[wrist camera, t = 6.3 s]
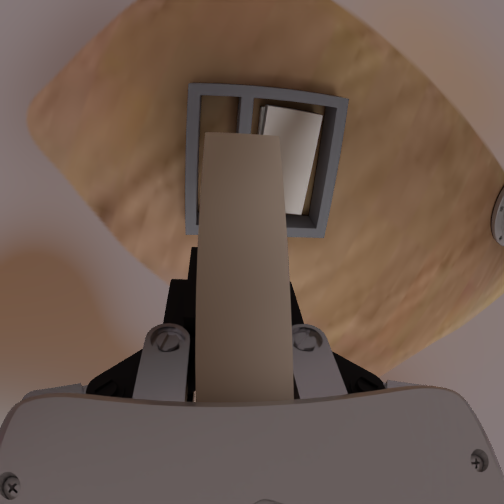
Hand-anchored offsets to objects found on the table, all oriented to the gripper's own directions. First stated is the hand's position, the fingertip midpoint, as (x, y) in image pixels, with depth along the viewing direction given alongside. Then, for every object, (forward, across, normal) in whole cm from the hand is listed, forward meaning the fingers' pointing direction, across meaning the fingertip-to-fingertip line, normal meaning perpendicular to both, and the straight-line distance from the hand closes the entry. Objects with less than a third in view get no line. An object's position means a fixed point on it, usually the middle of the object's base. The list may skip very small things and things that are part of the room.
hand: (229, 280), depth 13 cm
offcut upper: (+19, -6, 0) cm, 20 cm away
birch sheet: (+3, 0, +6) cm, 6 cm away
